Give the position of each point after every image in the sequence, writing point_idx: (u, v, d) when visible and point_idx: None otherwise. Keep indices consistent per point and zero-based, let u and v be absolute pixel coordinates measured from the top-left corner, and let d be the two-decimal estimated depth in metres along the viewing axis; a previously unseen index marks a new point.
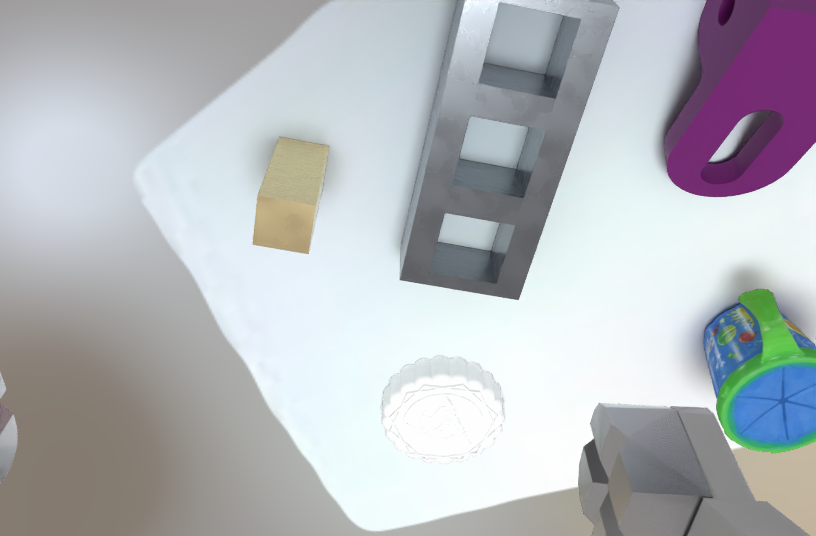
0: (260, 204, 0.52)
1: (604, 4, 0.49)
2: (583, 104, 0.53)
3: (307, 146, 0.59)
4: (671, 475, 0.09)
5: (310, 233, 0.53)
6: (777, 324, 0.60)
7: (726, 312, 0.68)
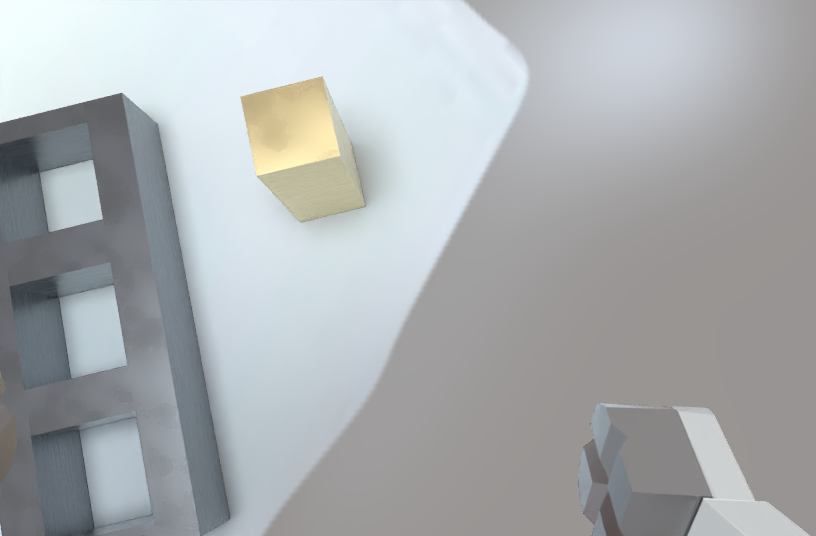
0: (331, 143, 0.35)
1: None
2: None
3: (325, 212, 0.44)
4: (671, 475, 0.09)
5: (249, 130, 0.35)
6: None
7: None
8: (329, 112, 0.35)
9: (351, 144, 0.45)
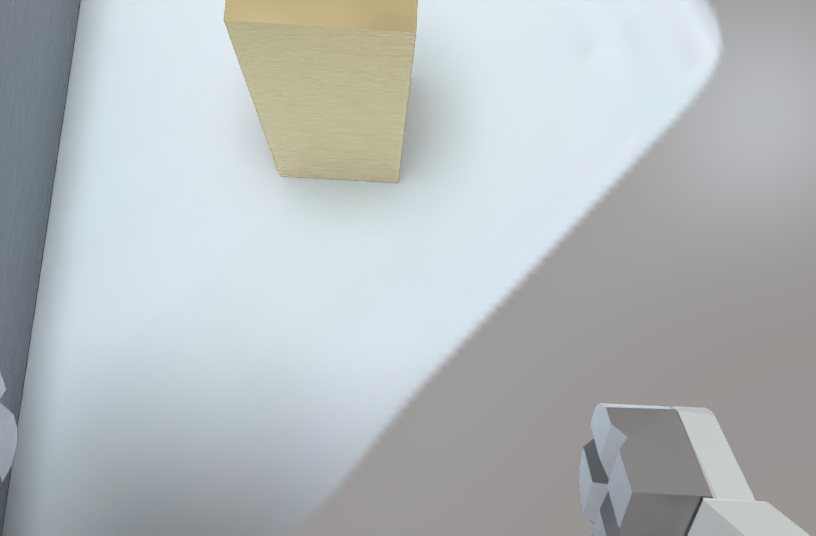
0: (404, 2, 0.16)
1: None
2: None
3: (327, 170, 0.25)
4: (671, 475, 0.09)
5: None
6: None
7: None
8: None
9: None
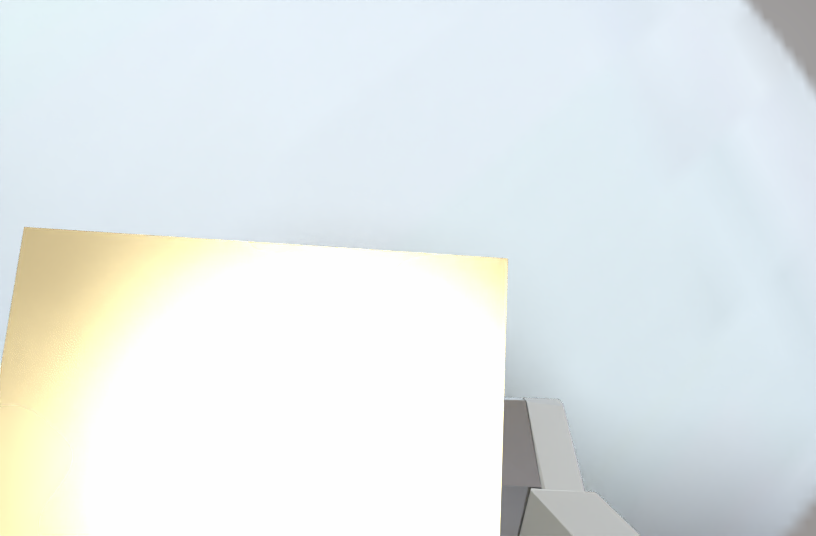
0: None
1: None
2: None
3: None
4: (504, 466, 0.09)
5: None
6: None
7: None
8: (494, 481, 0.06)
9: None
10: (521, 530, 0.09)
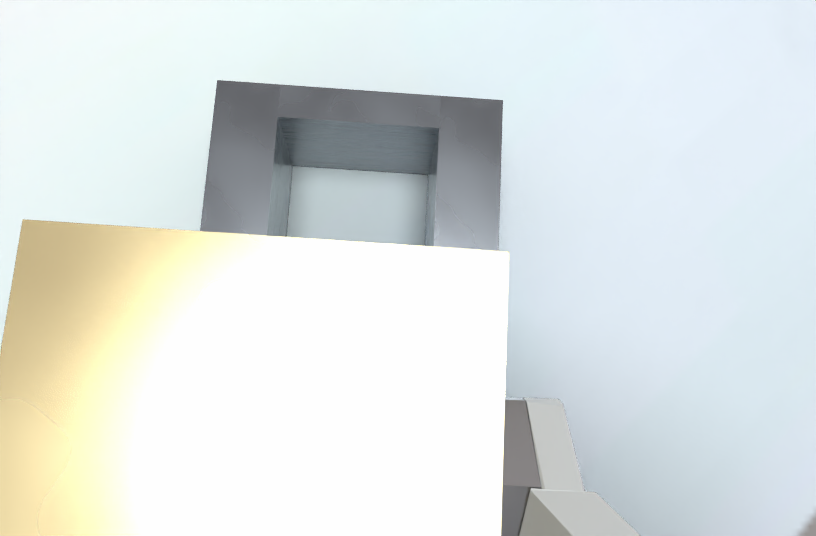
0: None
1: None
2: None
3: None
4: (503, 466, 0.09)
5: None
6: None
7: None
8: (495, 474, 0.06)
9: None
10: (520, 529, 0.09)
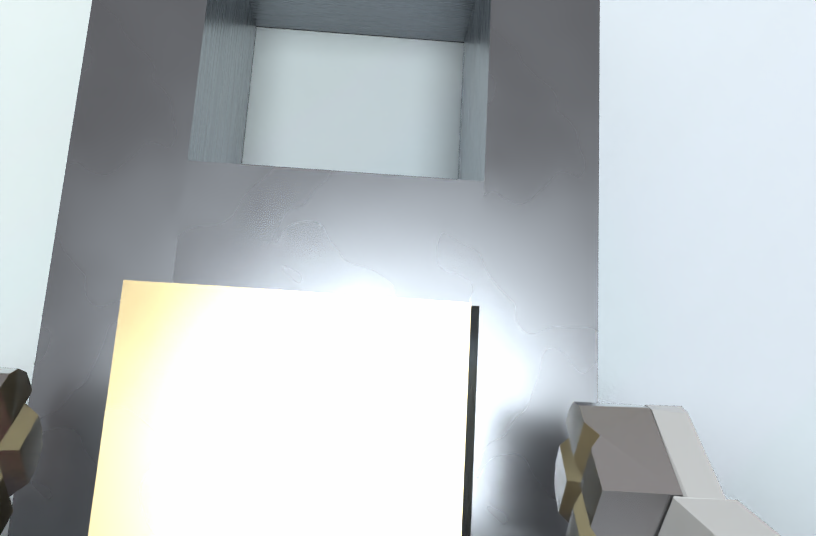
0: None
1: None
2: None
3: None
4: (642, 473, 0.09)
5: (109, 434, 0.08)
6: None
7: None
8: (459, 462, 0.08)
9: None
10: None
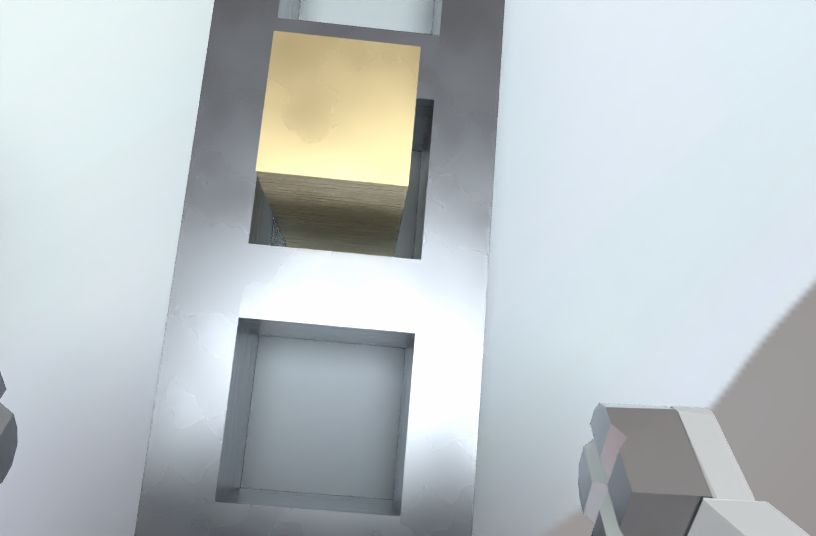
0: (400, 161, 0.20)
1: None
2: (174, 311, 0.24)
3: None
4: (671, 475, 0.09)
5: (269, 90, 0.20)
6: None
7: None
8: (413, 108, 0.20)
9: None
10: None
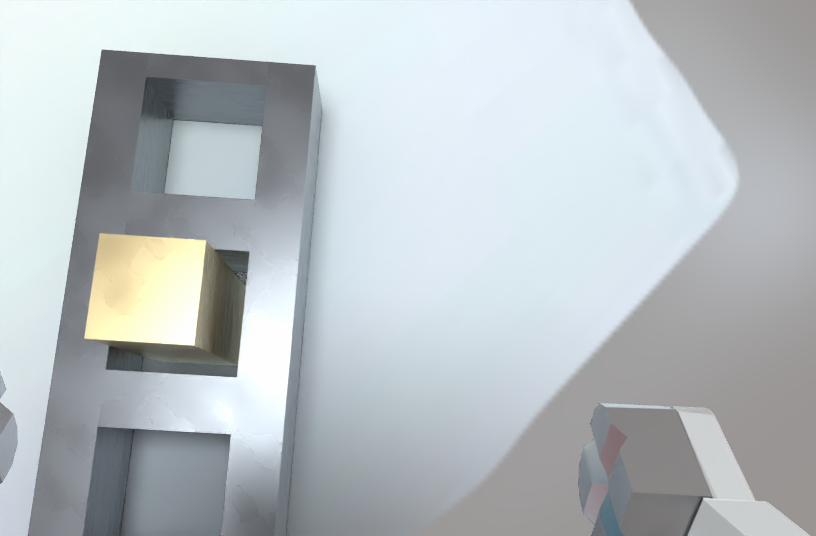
0: (188, 327, 0.28)
1: None
2: (50, 424, 0.32)
3: (188, 361, 0.37)
4: (671, 475, 0.09)
5: (95, 278, 0.28)
6: None
7: None
8: (199, 287, 0.28)
9: None
10: None
